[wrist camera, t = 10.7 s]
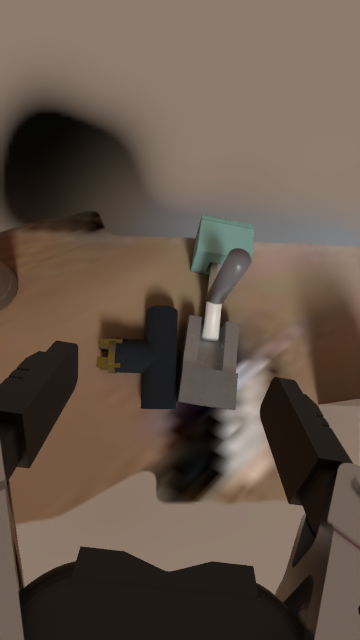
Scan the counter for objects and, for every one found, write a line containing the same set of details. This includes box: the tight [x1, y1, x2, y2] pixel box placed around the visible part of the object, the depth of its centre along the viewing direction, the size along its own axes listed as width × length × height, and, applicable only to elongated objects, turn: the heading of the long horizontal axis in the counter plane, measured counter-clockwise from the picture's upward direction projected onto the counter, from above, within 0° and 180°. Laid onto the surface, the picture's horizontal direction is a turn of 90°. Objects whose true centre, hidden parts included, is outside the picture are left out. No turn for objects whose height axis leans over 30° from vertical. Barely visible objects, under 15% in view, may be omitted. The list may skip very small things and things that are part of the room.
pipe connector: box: [97, 306, 178, 409], centre depth 39 cm, size 12×5×15 cm
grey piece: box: [202, 248, 251, 341], centre depth 38 cm, size 3×18×14 cm, turn 172°
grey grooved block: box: [176, 315, 239, 410], centre depth 39 cm, size 8×13×5 cm, turn 172°
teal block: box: [191, 215, 254, 275], centre depth 45 cm, size 9×7×7 cm
